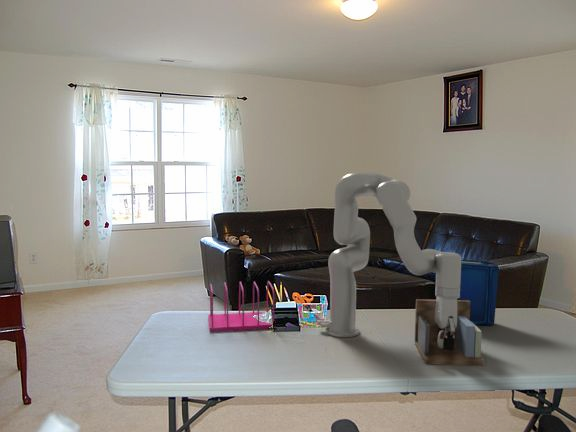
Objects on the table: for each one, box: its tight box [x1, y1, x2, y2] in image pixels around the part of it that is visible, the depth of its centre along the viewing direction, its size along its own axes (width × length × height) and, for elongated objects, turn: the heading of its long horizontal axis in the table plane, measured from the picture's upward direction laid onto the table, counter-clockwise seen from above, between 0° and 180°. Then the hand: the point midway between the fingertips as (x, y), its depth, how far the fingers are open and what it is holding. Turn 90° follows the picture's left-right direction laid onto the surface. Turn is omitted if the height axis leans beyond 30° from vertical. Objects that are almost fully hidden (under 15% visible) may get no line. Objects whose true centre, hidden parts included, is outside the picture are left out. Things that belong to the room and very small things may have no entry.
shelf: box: [414, 298, 485, 367], centre depth 163 cm, size 18×18×16 cm
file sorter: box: [207, 280, 275, 333], centre depth 193 cm, size 17×25×16 cm
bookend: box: [418, 315, 430, 356], centre depth 163 cm, size 1×11×10 cm, turn 177°
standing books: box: [456, 316, 483, 358], centre depth 162 cm, size 5×11×10 cm, turn 177°
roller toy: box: [437, 330, 448, 351], centre depth 159 cm, size 4×6×6 cm
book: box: [457, 259, 500, 327], centre depth 195 cm, size 22×7×25 cm, turn 84°
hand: (445, 345), depth 160 cm, fingers closed on roller toy, 6 cm apart
